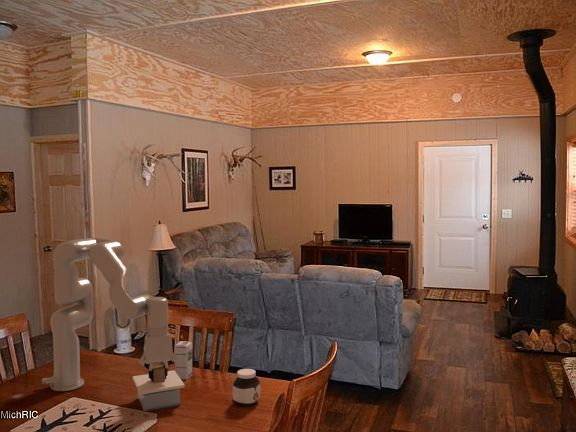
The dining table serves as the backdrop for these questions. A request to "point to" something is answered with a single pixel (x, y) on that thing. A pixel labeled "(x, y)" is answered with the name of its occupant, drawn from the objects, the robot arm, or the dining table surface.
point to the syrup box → (184, 359)
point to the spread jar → (246, 387)
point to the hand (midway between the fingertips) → (158, 378)
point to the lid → (158, 381)
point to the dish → (159, 399)
